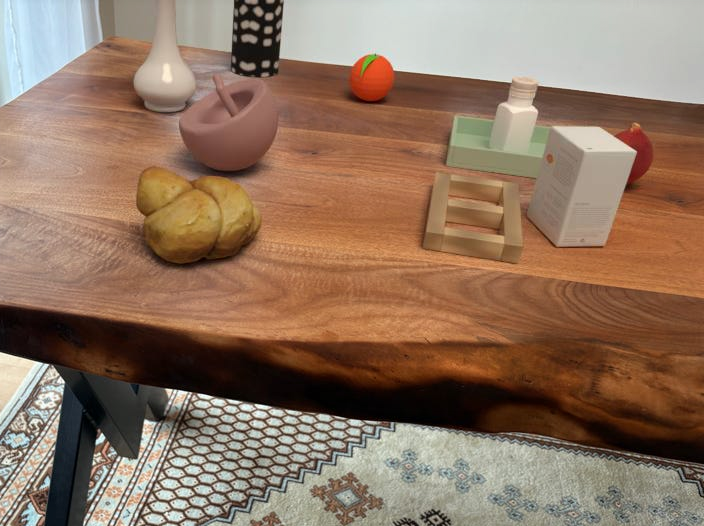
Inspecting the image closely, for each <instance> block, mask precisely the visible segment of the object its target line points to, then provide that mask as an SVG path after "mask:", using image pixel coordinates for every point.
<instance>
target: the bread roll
mask: <svg viewBox="0 0 704 526" xmlns="http://www.w3.org/2000/svg"><path fill="white" fill-rule="evenodd" d="M253 203H254V202H253V200H252V198H251V196H250V194H249V193H248V192H247V190H245V189H244V187H242V186H241V184H239V183H237V182H235V181H233V180H231V179H230V178H227V177H225V176H224V177H223V176H219V175H215V176H214V175H204V176H200V177H197V178H195V179H193V180H189V179H187V178H186V177H184V176H181V175H179V174H177V173H176V172H173V171H171V170H168V169H166V168H164V167H160V166H156V165H154V166H150V167H147V168H145V169H143V170H142V171H141V173H140V174H139V178H138V183H137V189H136V198H135V206H136V208H137V210H138V211H139V213H140V214H141V215H143V216H144V217H145V218H144V219H143V223H142V224H143V229H144V234H145V242H146V243H147V244H148V246H150V248H151V249H152V250H153V252H154V253H155V254H156V255H157V256H158V257H160V258H162V259H164V260H165V261H167V262H171V263H175V264H186V263H193V262H196V261H199V260H200V259H202V258H206V259H207V260H214V259H221V258H226V257H230V256H233V255H236V254H237V252H238V251H239V250H240V248H241V247H242V246H243V245H247V244H248V243H249V242H251V240H253V238H254V237H255V236H256V235H257V234H258V233H259V232H260V230H261V227H262V224H263V223H262V222H263V216H262V212H261V211H260V209H259V208H257V206H255V205H254V204H253Z"/></svg>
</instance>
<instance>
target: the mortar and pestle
mask: <svg viewBox="0 0 704 526" xmlns="http://www.w3.org/2000/svg"><path fill="white" fill-rule="evenodd" d="M212 80H213V82H214V83H213V84H214V85H215V90H214V91H212V92H210V93H208V94H206V95H204V96H203V97H201V98H199V100H197V101H196V102H194V103H193V104H192V105H191V106H190V107H189V108H187V109H186V111H184V112H183V113H182V115H181V116H180V118H179V119H178V129H179V133H180V136H181V139H182V141H183V144H184V146H185V147H186V149H187V151H188V152H189V153H190V154H191V155H192V156H193V158H195V159H196V160H197V161H198V162H199V163H201V164H202V165H203V166H206V167H207V168H210V169H213V170H217V171H220V172H237V171H241V170H244V169H247V168H249V167H251V166H252V165H254V164H256V163H258V162H259V161H260V160H261V159H262V158H264V156H265V155H267V153H268V151H269V150H270V148H271V147H272V145H273V143H274V141H275V138H276V135H277V133H278V129H279V128H278V127H279V109H278V105H277V102H276V99H275V97H274V94H273V93H272V90H271V89H270V88H269V86H268V85H267V83H265V81H264V80H263V79H258V77H253V78H247V79H243V80H239V81H236V82H232V83H230V84H228V85H225V83H224V80H223V78H222V75H221V74H220V73H219V72H218V73H213V75H212Z"/></svg>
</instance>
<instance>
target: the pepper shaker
mask: <svg viewBox="0 0 704 526" xmlns="http://www.w3.org/2000/svg"><path fill="white" fill-rule="evenodd" d="M538 86H539V81H538V80H537V79H535V78H532V77H528V76H514V77H513V78H512V79H511V82H510V86H509V91H508V98H507V101H504V102H501V103H499V104H498V105H497V109H496V112H495V116H494V119H493V120H494V124H493V128H492V132H491V136H490V140H489V149H494V150H502V151H509V152H517V153H525V154H527V152H528V148H529V145H530V141H531V137H532V134H533V130H534V126H535V125H536V122H537V119H538V115H539V111H538V109H537V108H536V107H535V106H534V105H532V104H533V102H534V99H535V97H536V94H537V90H538Z"/></svg>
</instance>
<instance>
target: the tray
mask: <svg viewBox="0 0 704 526" xmlns="http://www.w3.org/2000/svg"><path fill="white" fill-rule="evenodd" d="M494 120H495V119H488V118H480V117H473V116H463V115H456V114H454V115H453V120H452V123H451V129H450V133H449V140H448V146H447V153H446V161H445V166H446V167H450V168H457V169H465V170H470V171H471V170H472V171H478V172H479V171H480V172H486V173H487V172H488V173H493V172H494V173H495V174H500V173H501V174H502V175H509V176H516V177H523V178H531V179H537V176H538V172H539V168H540V165H541V161H542V157H543V154H544V150H545V147H546V143H547V139H548V136H549V132H550V128H551V127H552V126H545V125H544V126H543V125H538V124H535V126H534V130H533V134H532V137H531V141H530V145H529V148H528V152H527V154H525V153H517V152H509V151H502V150H494V149H489V140H490V136H491V132H492V128H493V124H494Z"/></svg>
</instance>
